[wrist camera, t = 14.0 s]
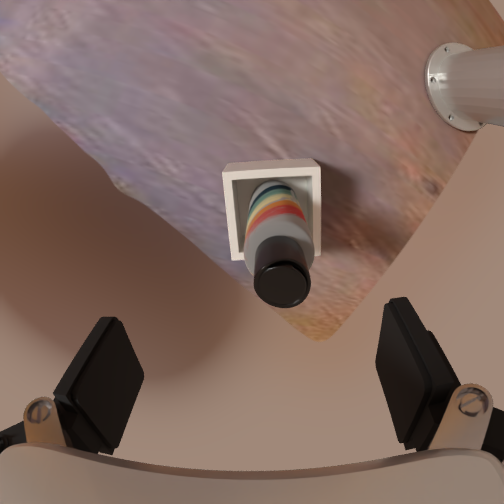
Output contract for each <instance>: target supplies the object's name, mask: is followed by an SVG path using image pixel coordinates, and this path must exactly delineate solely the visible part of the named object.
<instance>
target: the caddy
mask: <svg viewBox="0 0 504 504" xmlns="http://www.w3.org/2000/svg"><path fill="white" fill-rule="evenodd" d="M222 176H223V185H224V195H225V204H226V213H227V222H228V231H229V240H230V249H231V258H232V260H245V259H244V243H245V235H246V228H247V220H248V213H249V206H250V200H251V196H252V193H253V192H254V190H255V189H256V187H257V186H258V185H260V184H261V183H263V182H265V181H269V180H279V181H282V182H285V183H286V184H288V185H289V186H290V187H291V188H292V189H293V190H294V192H295V194H296V196H297V199H298V201H299V204H300V207H301V209H302V212H303V215H304V217H305V220H306V223H307V225H308V228H309V231H310V234H311V237H312V240H313V243H314V249H315V254H314V256H321V169H320V166H319V165H318V164H317V163H316V162H315V161H314V160H313V159H312V158H309V159H284V160H265V161H250V162H237V163H228V164H227V166H226V167H225V169H224V170H223V172H222Z"/></svg>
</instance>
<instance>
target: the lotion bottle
mask: <svg viewBox="0 0 504 504" xmlns="http://www.w3.org/2000/svg"><path fill="white" fill-rule="evenodd" d="M314 254H315V249H314V243H313V240H312V237H311V234H310V231H309V228H308V225H307V223H306V220H305V217H304V215H303V212H302V209H301V207H300V204H299V201H298V199H297V196H296V194H295V192H294V190H293V189H292V188H291V187H290V186H289V185H288V184H286V183H285V182H282V181H279V180H269V181H265V182H263V183H261V184H260V185H258V186H257V187H256V189H255V190H254V192H253V193H252V196H251V200H250V206H249V213H248V220H247V228H246V235H245V243H244V259H245V263H246V266H247V268H248V269H249V271H250V272H251V273H252V275H254V289H255V291H256V293H257V295H258V296H259V297H260V298H261V299H262V300H263V301H264V302H266V303H268V304H269V305H272V306H275V307H279V308H291V307H294V306H297V305H299V304H300V303H302V302H303V301H304V300H305V299H306V297H307V296H308V294H309V291H310V287H311V279H310V274H309V269H310V267H311V266H312V263H313V260H314Z"/></svg>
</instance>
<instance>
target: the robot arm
mask: <svg viewBox="0 0 504 504" xmlns="http://www.w3.org/2000/svg"><path fill="white" fill-rule="evenodd" d="M430 79H431V80H430ZM425 84H426V90H427V93H428V96H429V99H430V101H431V103H432V105H433V107H434V109H435V110H436V112H437V113H438V115H439V116H440V117H441V118H442V119H443V120H444V121H445V122H446V123H448V124H449V125H450V126H452V127H454V128H456V129H460V130H464V131H475V130H478V129H481V128H482V127H484V126H485V125H486V124H487V123H488V124H493V125H498V126H503V127H504V46H498V47H490V48H484V49H477V50H473V49H471V48H470V47H468V46H466V45H463V44H460V43H447V44H443V45H441V46H439V47H437V48H436V49H435V50H434V51H433V52H432V53H431V55H430V56H429V58H428V61H427V64H426V68H425ZM375 363H376V370H377V372H378V376H379V379H380V382H381V385H382V388H383V391H384V394H385V397H386V401H387V404H388V407H389V411H390V414H391V417H392V421H393V424H394V427H395V431H396V435H397V438H398V441H399V443H404V446H405V450H409V449H413V448H416V451H417V452H415V453H409V454H404V455H398V456H393V457H388V458H383V459H378V460H372V461H366V462H359V463H352V464H345V465H338V466H331V467H322V468H310V469H298V470H280V471H218V470H202V469H189V468H179V467H170V466H161V465H154V464H147V463H141V462H135V461H129V460H124V459H118V458H113V457H108V456H104V455H99V454H98V452H101V453H105V454H110V455H113V452H114V449H115V448H117V447H118V446H119V443H120V441H121V438H122V436H123V433H124V430H125V427H126V424H127V422H128V419H129V417H130V414H131V411H132V409H133V406H134V403H135V401H136V398H137V395H138V392H139V390H140V388H141V385H142V383H143V380H144V372H143V369H142V367H141V365H140V363H139V361H138V358H137V356H136V354H135V352H134V350H133V348H132V345H131V343H130V340H129V338H128V335H127V333H126V331H125V328H124V326H123V324H122V322H121V321H119V320H118V319H117V318H116V317H101V318H100V319H99V321H98V322H97V324H96V325H95V327H94V328H93V330H92V331H91V333H90V334H89V336H88V337H87V339H86V340H85V342H84V343H83V345H82V346H81V348H80V350H79V351H78V353H77V354H76V356H75V357H74V359H73V361H72V362H71V364H70V366H69V367H68V369H67V370H66V372H65V374H64V375H63V377H62V378H61V380H60V382H59V384H58V385H57V387H56V389H55V390H54V392H53V394H54V396H55V398H54V400H52V399H51V398H49V397H39V398H36V399H34V400H33V401H31V402H30V403H29V404H28V405H27V407H26V408H25V411H24V415H23V419H24V421H22V422H20V423H18V424H16V425H14V426H11V427H9V428H7V429H5V430H3V431H1V432H0V504H504V411H502V410H499V409H497V408H494V407H493V399H492V396H491V394H490V393H489V392H488V391H487V390H486V389H485V388H484V387H482V386H480V385H478V384H473V383H470V384H464V385H461V384H460V382H459V380H458V378H457V376H456V374H455V372H454V370H453V368H452V367H451V365H450V363H449V361H448V359H447V357H446V356H445V354H444V352H443V350H442V348H441V347H440V345H439V343H438V341H437V340H436V338H435V336H434V335H433V333H432V332H431V331H427V330H426V328H425V327H424V325H423V323H422V322H421V320H420V319H419V316H418V315H417V313H416V312H415V310H414V308H413V307H412V305H411V303H410V302H409V300H408V299H407V297H400V298H392V299H390V301H389V303H387V304H385V305H384V312H383V318H382V325H381V331H380V337H379V344H378V349H377V354H376V361H375Z"/></svg>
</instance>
